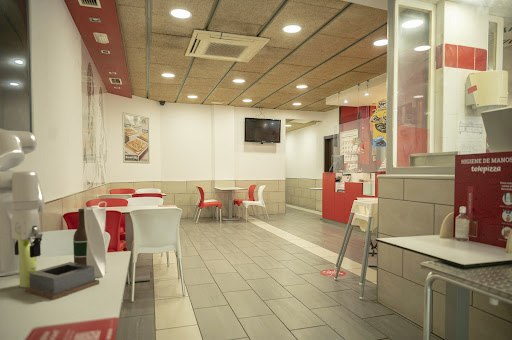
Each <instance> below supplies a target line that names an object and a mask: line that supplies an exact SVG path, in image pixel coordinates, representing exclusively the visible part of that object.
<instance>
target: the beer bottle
mask: <svg viewBox="0 0 512 340" xmlns="http://www.w3.org/2000/svg"><path fill="white" fill-rule="evenodd" d="M84 208H85V207H84ZM84 208H83V207H82V208H78V210H77V212H78V223H77V229H76V230H75V232H74V235H73V238H72V239H73V241H72V242H73V243H72V244H73V263H78V264H83V265H87V235H86V229H85V218H84ZM86 209H88V208H86Z"/></svg>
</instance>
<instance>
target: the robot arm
mask: <svg viewBox="0 0 512 340" xmlns="http://www.w3.org/2000/svg"><path fill="white" fill-rule="evenodd" d="M37 145H38V144H37V138H36V136H35V135H34V133H33V132H30V131H27V130H25V131H24V130H8V129H7V130H0V277H6V276H8V277H9V276H13V275H18V274H19V275H20V270H19V247H18V232H20V233H19V234H20V240H27V239H28V240H29V242H30V244H31V246H30V257H31V258H32V257H36V258H37V257H40V256H42V254H41V251H42V250H41V245H42V240H43V239H42V238H43V233H44V232H42V230H41V222H40V215H39V214H40V213H43V211H44V210H45V204H46V203H45V197H44V194H43V190H42V187H41V184H40V180H39V177H38V176H39V175H38V173H37V172H35V171H32V170H29V171H27V170H26V171H24V170H23V171H18V170H17V171H16V170H15V168H16V167H18V166H20V165H21V164H23V162H24V161H25V158H26V157H25V156H26V155H28V154H31V153H32V152H34V151H36V148H37ZM33 240H34V241H33Z"/></svg>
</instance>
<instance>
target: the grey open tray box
mask: <svg viewBox="0 0 512 340" xmlns="http://www.w3.org/2000/svg"><path fill="white" fill-rule="evenodd" d="M29 280H30V287H24V292H25V293H28V294H31V295H34V296H37V297H40V298H44V299H48V300H51V301H54V300H55V301H56V300H58V299H60V298H63V297H66V296H69V295H72V294H74V293H78V292H81V291H83V290H85V289H88V288H91V287H96V286H98V285H100V280H99V279H96V278H95V269H94V266H89V265H83V264H78V263H74V261H72V262H71V261H68V262H65V263H61V264H58V265H53V266H50V267H46V268H43V269H38V270H37V271H35V272H31V273H29Z"/></svg>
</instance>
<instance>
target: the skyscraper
mask: <svg viewBox="0 0 512 340" xmlns="http://www.w3.org/2000/svg"><path fill="white" fill-rule="evenodd" d="M102 203H105V205H104V207H100V204H102ZM107 205H108V203H107V202H106V200H105V201H104V200H103V201H100V202H99V203H98V204H97V205H92V206H85V207H84V218H85V229H86V235H87V265H89V266H94V269H95V279H96V278H103V277H104V276H105V274H106V273H107V252H106V251H107V250H106V249H107V248H106V241H105V237H104V236H105V231H106V222H107V221H106V219H107V217H106V216H107V215H106V214H107V213H106V212H107ZM86 208H87V209H86Z"/></svg>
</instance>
